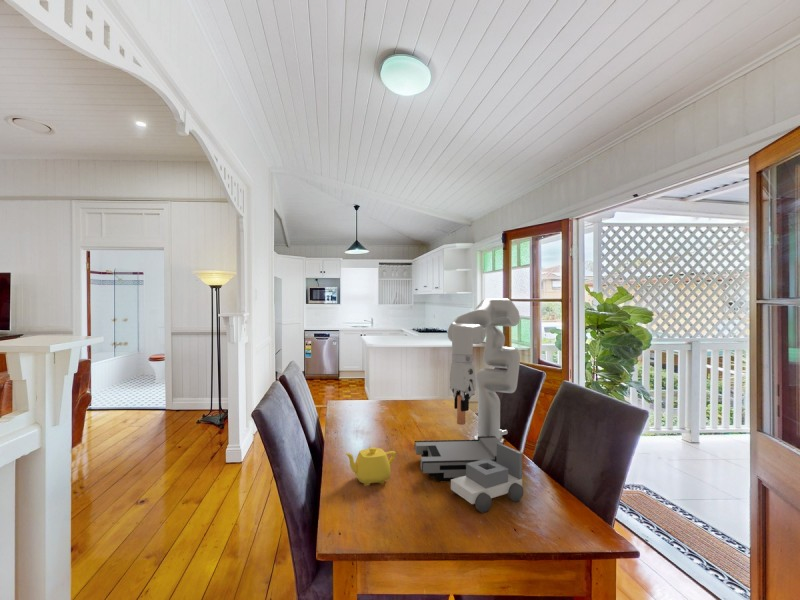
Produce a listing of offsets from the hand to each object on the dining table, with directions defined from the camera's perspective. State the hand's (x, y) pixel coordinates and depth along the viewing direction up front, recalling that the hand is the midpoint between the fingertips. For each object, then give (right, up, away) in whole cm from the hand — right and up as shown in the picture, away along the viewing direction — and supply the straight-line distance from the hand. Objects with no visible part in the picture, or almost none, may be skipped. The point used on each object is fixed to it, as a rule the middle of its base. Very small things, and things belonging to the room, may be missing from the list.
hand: (461, 409), depth 137 cm
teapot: (-32, -21, -10) cm, 40 cm away
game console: (0, -22, 0) cm, 22 cm away
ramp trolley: (+4, -21, -21) cm, 30 cm away
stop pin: (0, -5, 0) cm, 5 cm away
